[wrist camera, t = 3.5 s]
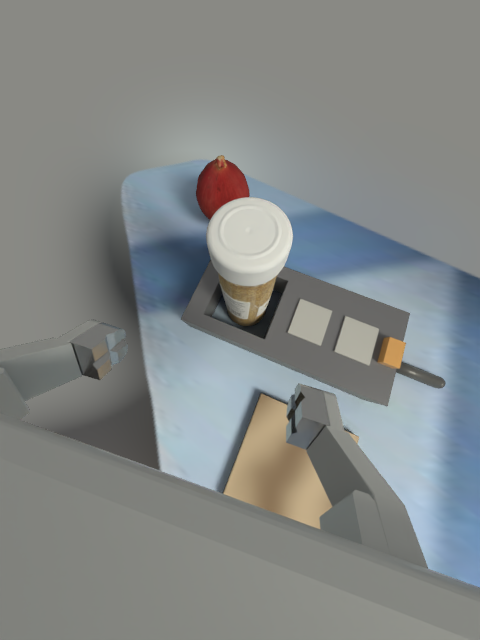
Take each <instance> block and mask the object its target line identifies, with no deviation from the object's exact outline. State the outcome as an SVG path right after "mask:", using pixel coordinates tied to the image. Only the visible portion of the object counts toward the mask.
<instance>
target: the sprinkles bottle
mask: <svg viewBox="0 0 480 640" xmlns="http://www.w3.org/2000/svg"><path fill="white" fill-rule="evenodd" d="M206 239H207V246H208V250H209V254H210V258H211V261H212V263H213V266H214V268H215V269H216V271H217V272H218V275H219V282H220V286H221V289H222V293H223V296H224V299H225V303H226V306H227V312H228V314H229V316H230V318H231V319H232V320H233V321H234V322H235V323H237V324H239V325H242V326H252V325H255V324H257V323H258V322H259V321H260V320H261V319H262V318H263V317H264V315H265V312H266V308H267V305H268V303H269V300H270V297H271V294H272V291H273V288H274V283H275V280H276V277H277V275H278V274H279V272H280V271H281V270H282V268H283V267H284V265H285V262H286V260H287V257H288V254H289V252H290V249H291V245H292V239H293V233H292V227H291V224H290V221H289V219H288V218H287V216H286V215H285V213H284V212H283V211H282V210H281V209H280V208H279V207H278V206H276V205H275V204H273V203H271V202H269V201H267V200H264V199H260V198H254V197H245V198H239V199H235V200H233V201H230V202H228V203H226V204H225V205H223V206H222V207H220V208H219V209H218V210H217V211H216V212H215V214H214V215H213V216H212V218H211V220H210V222H209V224H208V227H207V233H206Z"/></svg>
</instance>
